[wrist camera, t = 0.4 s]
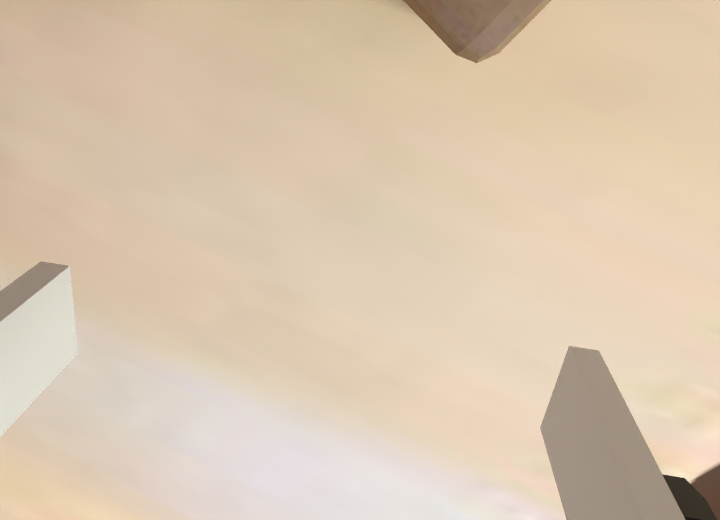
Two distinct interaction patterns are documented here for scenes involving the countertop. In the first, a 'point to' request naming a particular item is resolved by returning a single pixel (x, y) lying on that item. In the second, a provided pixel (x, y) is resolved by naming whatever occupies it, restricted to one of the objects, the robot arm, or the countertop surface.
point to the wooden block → (476, 23)
